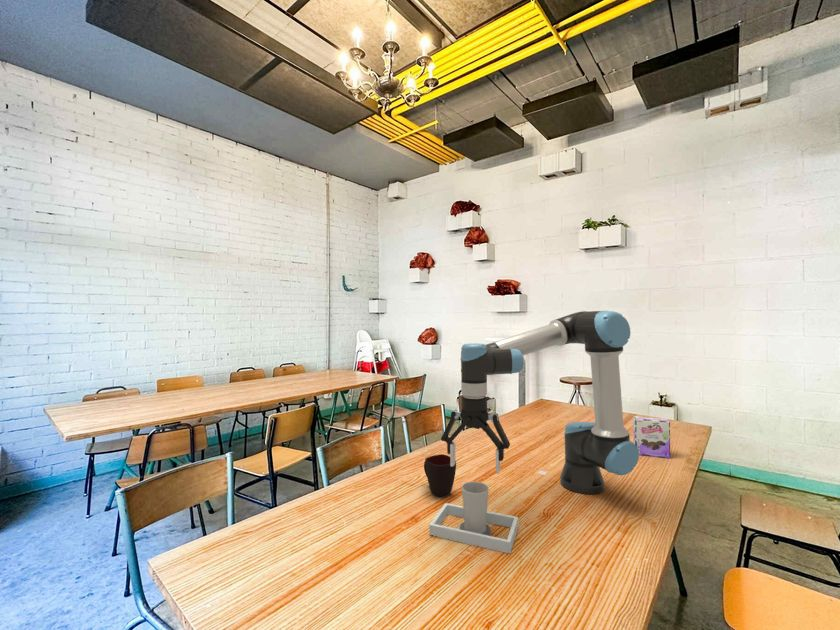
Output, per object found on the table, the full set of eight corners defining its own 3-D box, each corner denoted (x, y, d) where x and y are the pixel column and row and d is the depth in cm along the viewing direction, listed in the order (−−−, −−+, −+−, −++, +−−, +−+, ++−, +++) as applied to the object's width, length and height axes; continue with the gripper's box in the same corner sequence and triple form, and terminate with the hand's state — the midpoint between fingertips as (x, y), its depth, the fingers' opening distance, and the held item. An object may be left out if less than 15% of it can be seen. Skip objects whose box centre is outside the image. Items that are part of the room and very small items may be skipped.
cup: (488, 537, 109) (488, 494, 109) (460, 534, 111) (460, 492, 111) (489, 522, 117) (489, 482, 117) (462, 519, 118) (462, 480, 118)
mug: (437, 502, 130) (437, 467, 131) (415, 487, 142) (415, 455, 142) (460, 495, 136) (460, 461, 136) (437, 481, 148) (436, 450, 148)
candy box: (635, 454, 174) (634, 418, 175) (633, 450, 180) (632, 415, 180) (670, 459, 169) (670, 421, 169) (667, 454, 175) (667, 418, 175)
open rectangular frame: (518, 527, 115) (518, 517, 115) (510, 553, 102) (510, 542, 102) (445, 512, 124) (445, 503, 124) (429, 535, 111) (429, 524, 111)
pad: (493, 525, 116) (493, 523, 116) (486, 541, 108) (486, 539, 108) (464, 519, 120) (464, 517, 120) (455, 534, 111) (455, 532, 111)
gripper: (519, 396, 112) (520, 469, 112) (438, 391, 122) (439, 458, 122) (515, 401, 106) (516, 479, 105) (430, 395, 115) (431, 466, 115)
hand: (475, 468), depth 114 cm, fingers open, 13 cm apart
